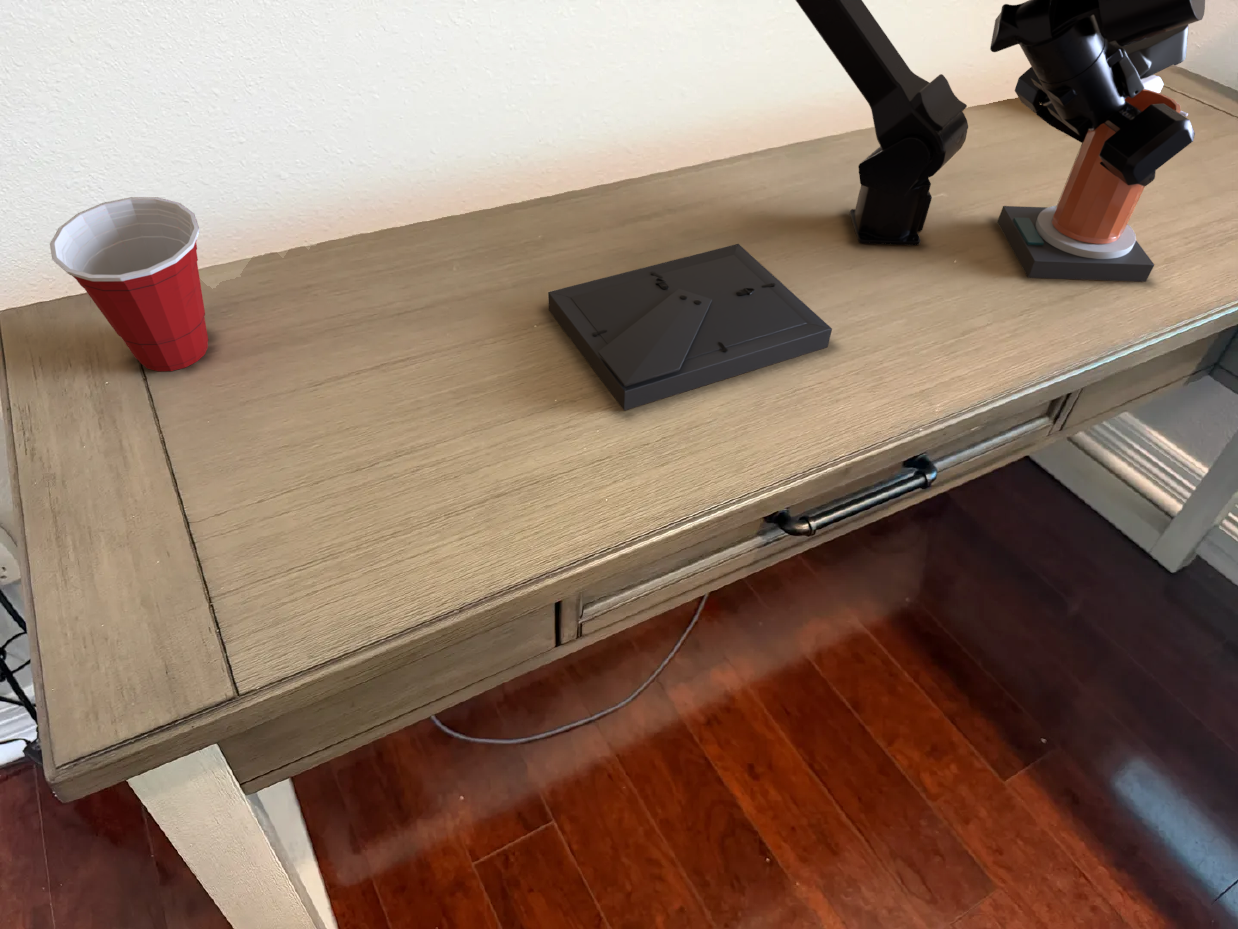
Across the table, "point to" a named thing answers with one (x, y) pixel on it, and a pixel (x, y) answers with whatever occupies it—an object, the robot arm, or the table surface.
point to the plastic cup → (140, 275)
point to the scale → (1069, 249)
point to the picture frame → (685, 324)
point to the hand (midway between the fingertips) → (1125, 164)
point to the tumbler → (1100, 187)
